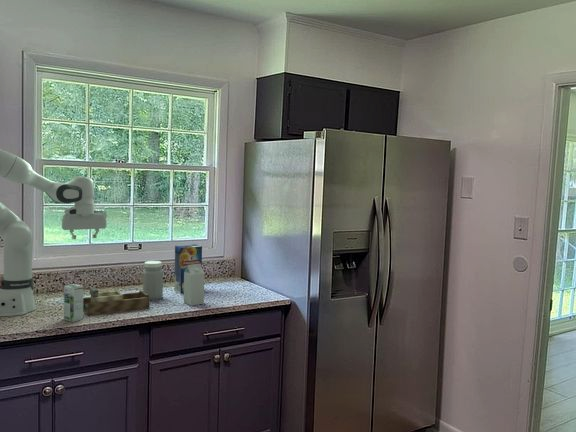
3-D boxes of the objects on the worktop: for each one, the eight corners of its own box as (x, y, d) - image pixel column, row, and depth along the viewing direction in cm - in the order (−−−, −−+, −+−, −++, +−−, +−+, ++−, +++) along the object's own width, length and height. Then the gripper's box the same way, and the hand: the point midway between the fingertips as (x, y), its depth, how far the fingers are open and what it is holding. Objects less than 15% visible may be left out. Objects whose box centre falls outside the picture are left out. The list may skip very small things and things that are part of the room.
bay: (88, 315, 226) (88, 301, 225) (81, 308, 236) (81, 295, 235) (149, 308, 241) (149, 295, 240) (141, 302, 251) (141, 289, 250)
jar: (160, 300, 254) (160, 264, 252) (140, 300, 254) (140, 263, 252) (164, 295, 264) (165, 260, 262) (145, 295, 264) (145, 260, 262)
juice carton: (180, 294, 269) (181, 247, 267) (174, 291, 275) (174, 245, 272) (201, 291, 276) (202, 246, 274) (194, 288, 282) (195, 244, 280)
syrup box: (63, 319, 219) (63, 285, 217) (75, 316, 224) (75, 283, 222) (71, 322, 216) (71, 287, 214) (84, 319, 221) (83, 285, 219)
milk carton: (183, 302, 252) (184, 263, 250) (196, 300, 257) (197, 262, 255) (190, 306, 247) (191, 266, 245) (203, 303, 251) (204, 264, 250)
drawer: (94, 311, 229) (94, 291, 228) (89, 306, 236) (89, 286, 235) (123, 307, 236) (123, 288, 235) (117, 303, 243) (117, 284, 242)
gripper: (104, 209, 260) (104, 236, 261) (60, 209, 248) (60, 238, 250) (108, 210, 254) (108, 238, 256) (63, 211, 243) (63, 240, 244)
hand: (84, 238), depth 253 cm, fingers open, 8 cm apart
